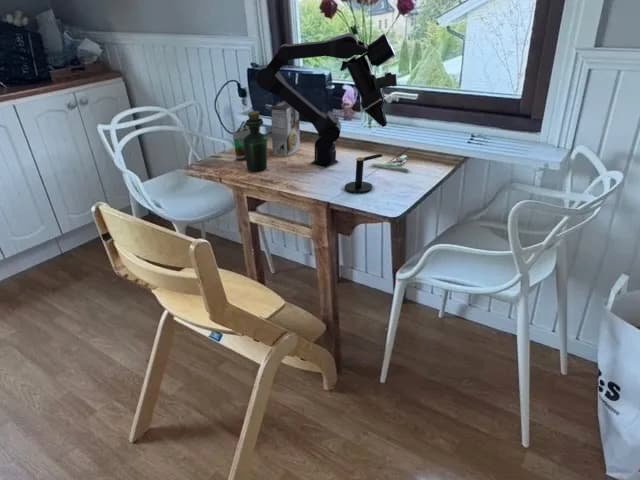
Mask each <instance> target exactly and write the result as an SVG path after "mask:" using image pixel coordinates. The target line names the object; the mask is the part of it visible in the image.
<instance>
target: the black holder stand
mask: <svg viewBox="0 0 640 480" xmlns="http://www.w3.org/2000/svg"><path fill="white" fill-rule="evenodd" d="M383 156H384V154H383V153H381V152H380V153H377V154H372V155H369V156H368V155H367V156H365V157H364V156H359V157H356V159H355V162H356V165H355V179H354V180H355V181H350V182H347V183H346V184H345V185H344V191H345V192H347V193H350V194H353V195H354V194H355V195H360V194H361V195H363V194H367V193H369V192H371V191H372V190H373V184H372V183H370V182H367V181H363V175H364V162H367V161H371V160H374V159H378V158H382V157H383Z"/></svg>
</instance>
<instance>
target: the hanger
mask: <svg viewBox="0 0 640 480" xmlns="http://www.w3.org/2000/svg"><path fill="white" fill-rule="evenodd" d="M407 159H408V154H407V155H406V154H402V155H401V156H399V157H398V158H394V159H393V160H392V161H390V162H389V163H388V164H386V163H372V164H371V166H372V167H376V168H382V169H383V168H384V169H390V170H394V171H395V170H396V171H400V172H401V171H403V172H409V171H410V170H409V169H408V168H405V167H402V166H401V165H404V164H405V163H406V162H407ZM396 161H398V162H400V163H395V162H396Z"/></svg>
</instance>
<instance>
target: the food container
mask: <svg viewBox="0 0 640 480" xmlns="http://www.w3.org/2000/svg"><path fill="white" fill-rule="evenodd" d="M245 124H246V122H243V125H242V126H241V127H239V128H238V129H237V131H236V132H235V131H232V140H233V143H234V150H235V151H234V152H235V161H237V162H241V161H246V157H245V151H244V145H243V140H244V137H246V136H247V135H248V134H250V129H249V127H248V126H246V125H245Z"/></svg>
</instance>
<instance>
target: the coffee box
mask: <svg viewBox="0 0 640 480" xmlns="http://www.w3.org/2000/svg"><path fill="white" fill-rule="evenodd" d="M270 117H271V118H270V119H271V120H270V121H271V145H272V155H273V156H279V157H286V158H287V157H290V156H291V155H293V154H294V153H295V152H297V151H298V150H300V149H301V145H300V143H301V141H300V113H299V112H297V111H296V110H295V109H294V108H293V107H291V106H290V105H289V104H288V103H287V102H285V101H284V100H282V101H280V102H279V103H276V104H275V105H273V106H271V107H270Z"/></svg>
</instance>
